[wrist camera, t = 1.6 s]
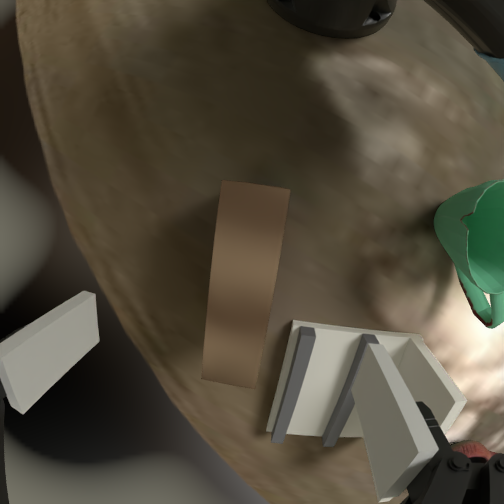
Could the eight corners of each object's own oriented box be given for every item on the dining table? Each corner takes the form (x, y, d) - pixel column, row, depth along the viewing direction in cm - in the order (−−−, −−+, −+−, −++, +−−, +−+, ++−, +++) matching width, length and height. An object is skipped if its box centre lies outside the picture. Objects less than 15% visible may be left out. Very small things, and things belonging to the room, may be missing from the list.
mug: (405, 190, 27) (456, 194, 17) (471, 169, 25) (528, 169, 15) (427, 313, 29) (468, 356, 20) (487, 285, 28) (534, 315, 18)
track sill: (293, 319, 31) (297, 401, 18) (420, 333, 30) (470, 399, 17) (266, 425, 35) (258, 503, 22) (373, 431, 34) (392, 500, 21)
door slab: (246, 182, 28) (221, 179, 17) (286, 188, 28) (290, 189, 16) (228, 313, 32) (201, 378, 20) (264, 319, 31) (255, 389, 20)
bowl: (422, 479, 37) (432, 506, 29) (415, 454, 35) (426, 487, 27) (488, 439, 34) (502, 463, 26) (490, 408, 32) (509, 435, 24)
